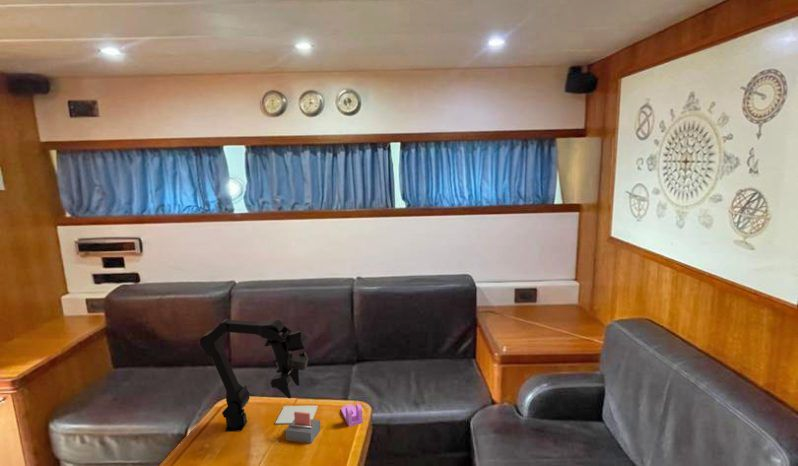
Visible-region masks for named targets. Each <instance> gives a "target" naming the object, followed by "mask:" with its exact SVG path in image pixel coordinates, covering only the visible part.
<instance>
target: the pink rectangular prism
mask: <svg viewBox="0 0 798 466" xmlns="http://www.w3.org/2000/svg"><path fill="white" fill-rule="evenodd" d="M294 417H295V425H303V426H311V421H310V413H305V412H296V411H295V412H294Z"/></svg>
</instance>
